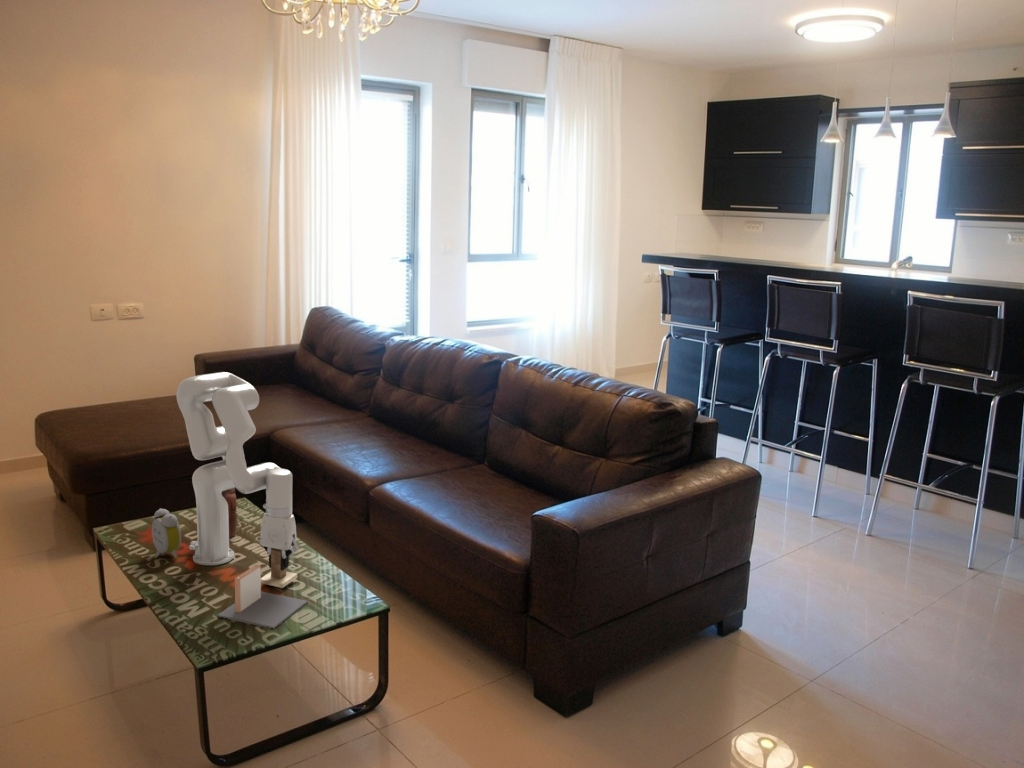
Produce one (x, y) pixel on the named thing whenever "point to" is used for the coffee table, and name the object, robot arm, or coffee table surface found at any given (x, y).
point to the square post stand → (277, 572)
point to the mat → (266, 610)
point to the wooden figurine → (231, 509)
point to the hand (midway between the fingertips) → (278, 567)
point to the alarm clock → (166, 533)
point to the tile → (247, 588)
